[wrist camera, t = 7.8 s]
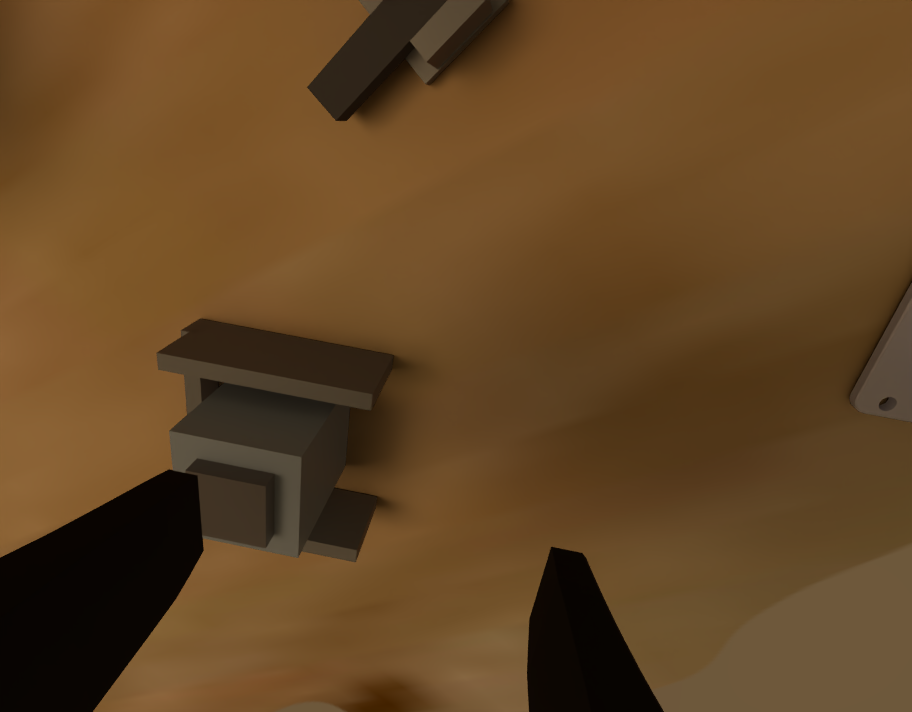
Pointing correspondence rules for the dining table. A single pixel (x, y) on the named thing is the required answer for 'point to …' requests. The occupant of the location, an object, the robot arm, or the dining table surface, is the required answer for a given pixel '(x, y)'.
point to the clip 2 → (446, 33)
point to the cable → (371, 55)
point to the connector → (261, 464)
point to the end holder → (293, 373)
